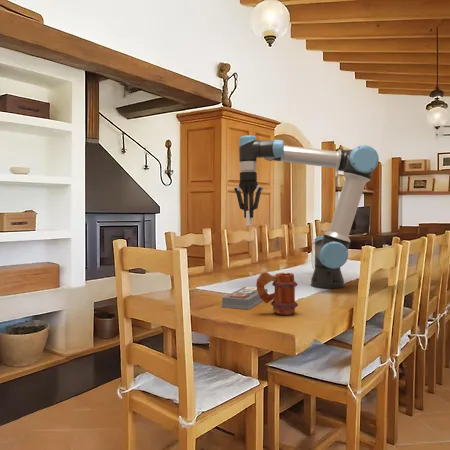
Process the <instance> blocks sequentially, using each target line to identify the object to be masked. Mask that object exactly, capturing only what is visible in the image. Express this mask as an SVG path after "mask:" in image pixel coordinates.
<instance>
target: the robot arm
mask: <svg viewBox="0 0 450 450" xmlns="http://www.w3.org/2000/svg"><path fill="white" fill-rule="evenodd" d="M238 144H239V145H238V158H239V182H238V186H236V187H234V189H233V190H234V192H235V193H236V197H237V198H236V199H237V201H238V206H239V209H240V210H241V211H243V216H244V218H245V222H246V223H245V224H246V227H247V226H252V219H253V218H254V211H255V210H257V209H258V207H259V202H260V198H261V194H262V191H263V190H264V187H262V186H260V185H259V183H258V179H257V178H258V175H257V174H258V173H257V167H258V166H257V158H258V159H261V158H262V159H264V160H265V161H268V162H269V161H270V162H272V161H273V162H283V163H284V162H285V163H289V164H290V163H292V164H301V165H308V166H315V167H325V168H331V169H332V168H333V169H335V170H336V171H339V172H343V176H344V181H343V185H342V188H341V191H340V194H339V198H338V201H337V205H336V208H335V210H334V214H333V216H332V220H331V223H330V226H329V229H328V230H327V231H326V232H324V233H323V235H321V236H316V237H315V238H314V271H313V274H312V277H311V279H310V286H312V287H313V288H319V289H340V288H344V287H345V279H344V277H343V274H342V270H341V267H343V266H344V265H345V264H346V263H347V261H348V258H349V247H350V245H351V240H350V237H349V236H350V234H351V229H352V226H353V223H354V220H355V216H356V214H357V210H358V209H359V208H358V207H359V204H360V201H361V198H362V195H363V192H364V189H365V186H366V184H367V183H369V182H370V181H371V179H372V175H373V172H374V170H375V169H376V168H377V167H378V165H379V159H380V158H379V154H378V152H377V151H376V149H375V148H374V147H372V146H370V145H367V144H361V145H358V146H355V147H354V148H352V149H338V150H337V151H335V150H330V149H329V150H327V149H318V148H309V147H301V146H293V145H285V141H284V140H282V139H273V140H272V139H268V140H267V139H266V140H263V139H262V140H257V136H255V135H242V136H240V138H239V143H238ZM241 191H242V193H241ZM255 191H256V192H255ZM242 195H243V196H242ZM254 195H255V198H254Z"/></svg>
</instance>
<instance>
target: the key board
mask: <svg viewBox="0 0 450 450" xmlns="http://www.w3.org/2000/svg"><path fill="white" fill-rule="evenodd" d="M247 287H248V286H246V287H244V286H243V287H242V288H239V289H237V290H235V291H233V292H231V293H229V294H227V295H225V296H222V298H221V300H222V303H221V308H227V309H228V308H229V309H230V308H231V309H239V310H250V309H252V308H254V307H255V306H257V305H258V304H260V303H262V302H264V301H263V300H262V299H261V298H260V296H259V295H258V292H254V294H252V295H248V297H247V298H245V299H241V298H231V295H233V294H235V293H238V292H239V291H241V290H244V289H245V288H247ZM265 292H266V293H267V294H268V288H265Z"/></svg>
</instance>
